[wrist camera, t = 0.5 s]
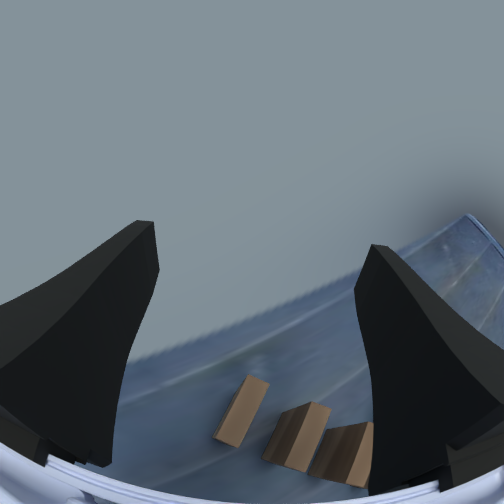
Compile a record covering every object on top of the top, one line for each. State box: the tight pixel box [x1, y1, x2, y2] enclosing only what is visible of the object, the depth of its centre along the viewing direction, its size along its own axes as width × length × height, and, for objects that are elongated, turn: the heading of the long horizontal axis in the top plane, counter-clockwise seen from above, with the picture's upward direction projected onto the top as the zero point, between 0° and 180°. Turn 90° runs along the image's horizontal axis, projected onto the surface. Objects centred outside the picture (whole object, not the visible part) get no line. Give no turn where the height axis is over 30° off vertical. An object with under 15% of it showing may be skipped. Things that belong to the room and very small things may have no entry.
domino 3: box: [308, 422, 373, 487], centre depth 19 cm, size 2×5×8 cm, turn 156°
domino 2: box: [261, 402, 331, 472], centre depth 20 cm, size 2×5×8 cm, turn 156°
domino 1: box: [212, 374, 269, 448], centre depth 21 cm, size 2×5×8 cm, turn 156°
